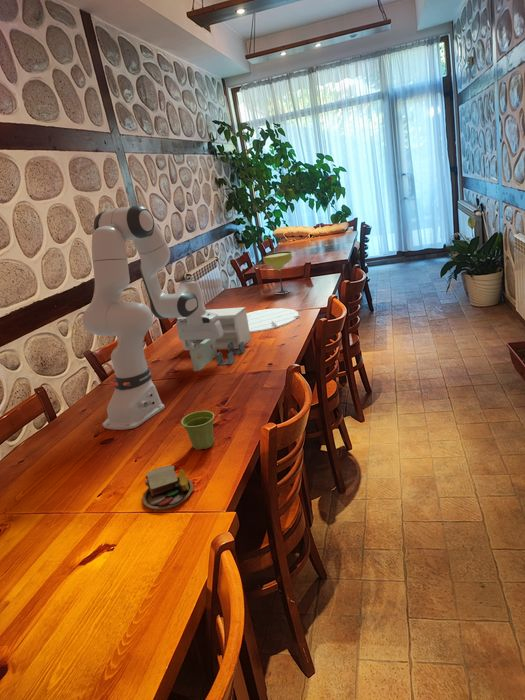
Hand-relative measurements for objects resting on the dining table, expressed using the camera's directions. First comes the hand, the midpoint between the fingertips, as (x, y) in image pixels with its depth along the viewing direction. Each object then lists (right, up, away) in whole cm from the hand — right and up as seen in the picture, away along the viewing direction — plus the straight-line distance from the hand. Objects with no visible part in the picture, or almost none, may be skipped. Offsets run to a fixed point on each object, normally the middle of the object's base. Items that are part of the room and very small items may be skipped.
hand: (203, 348), depth 201 cm
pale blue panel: (+1, -6, +2) cm, 7 cm away
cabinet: (+4, +2, +23) cm, 23 cm away
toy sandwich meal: (+2, -37, -84) cm, 92 cm away
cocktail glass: (+38, +37, +105) cm, 118 cm away
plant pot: (+8, -28, -64) cm, 71 cm away
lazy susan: (+25, +15, +50) cm, 58 cm away
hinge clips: (+12, -4, +2) cm, 13 cm away
